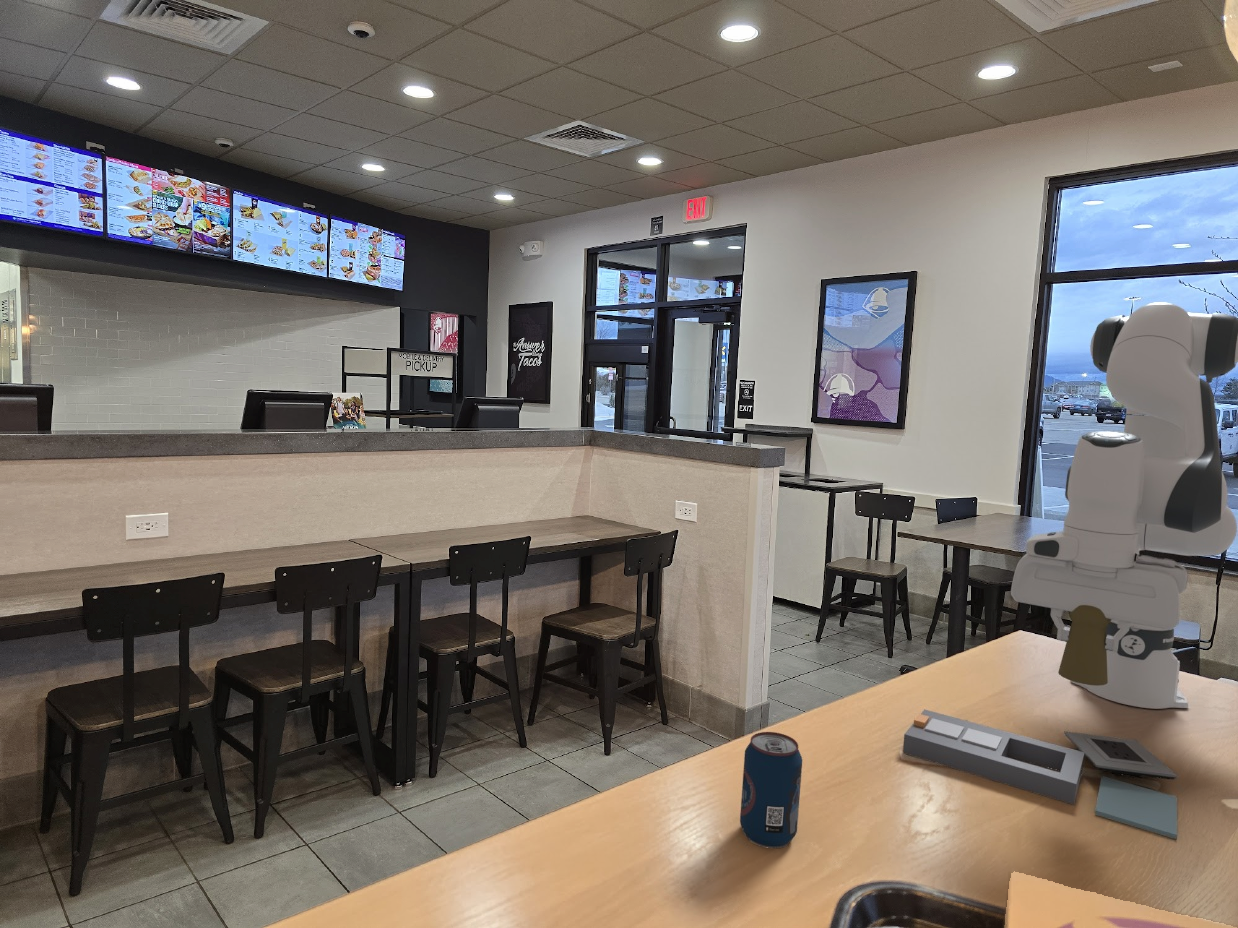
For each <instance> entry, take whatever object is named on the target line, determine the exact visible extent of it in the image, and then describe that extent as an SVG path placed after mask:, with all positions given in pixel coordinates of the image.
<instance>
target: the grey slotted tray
mask: <svg viewBox="0 0 1238 928" xmlns="http://www.w3.org/2000/svg"><path fill="white" fill-rule="evenodd" d="M902 744H903V745H902V753H903V754H906V755H908V756H912V757H916V758H919V759H921V760H924V761H925V760H926V761H928V762H932V763H934V764H939V765H942V766H945V767H948V768H952V769H955V770H958V771H962V772H965V773H969V774H970V775H971V774H972V775H974V776H978V777H980V778H981V777H982V778H984V779H988V780H991V781H995V782H997V783H1001V784H1004V785H1008V786H1011V787H1013V788H1018V789H1020V790H1024V791H1027V792H1030V793H1033V794H1034V793H1035V794H1038V795H1040V796H1044V797H1047V798H1051V799H1054V800H1057V801H1060V802H1064V803H1067V804H1070V805H1073V806H1074V805H1076V800H1077V795H1078V791H1079V787H1080V783H1081V778H1082V775H1081V774H1083V768H1084V760H1085V756H1084V753H1085V752H1081V751H1080V750H1077V749H1073V748H1070V747H1066V746H1063V745H1062V746H1061V745H1059V744H1055V743H1050V742H1047V741H1044V740H1041V739H1040V740H1039V739H1035V738H1031V737H1028V736H1025V735H1022V734H1021V735H1020V734H1018V733H1013V732H1010V731H1007V730H1003V729H999V728H996V727H992V726H989V725H988V726H987V725H983V724H979V723H976V722H972V721H968V720H967V719H966V720H965V719H961V718H958V717H955V716H952V715H951V716H950V715H947V714H943V713H939V712H936V711H931V710H928V709H923V711H922V712H921V713H917V715H916V717H915V718H914V720H913V722H912V724H911V725H910V726H909V728H908V729H907V730H906V731H905V733H904V736H903V743H902ZM1047 767H1049V768H1047ZM1050 768H1052V769H1050ZM1054 769H1057V770H1059V771H1057V770H1054Z"/></svg>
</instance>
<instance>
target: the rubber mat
mask: <svg viewBox="0 0 1238 928" xmlns="http://www.w3.org/2000/svg"><path fill="white" fill-rule="evenodd" d="M1177 802H1178V798H1177V796H1175V795H1171V794H1169V793H1164V792H1160V791H1159V790H1158V791H1157V790H1155V789H1150V788H1146V787H1143V786H1139V785H1135V784H1132V783H1129V782H1125V781H1123V780H1118V779H1114V778H1110V777H1107V776H1103V775H1101V778H1100V784H1099V790H1098V794H1097V800H1096V806H1095V811H1094V815H1095V816H1099V817H1102V818H1105V819H1109V820H1111V821H1115V822H1117V823H1122V824H1125V825H1128V826H1131V827H1135V828H1138V829H1140V830H1144V831H1148V832H1150V833H1153V834H1154V833H1155V834H1157V835H1161V836H1164V837H1167V838H1171V839H1174V840H1177V839H1178V803H1177Z"/></svg>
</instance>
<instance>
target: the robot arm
mask: <svg viewBox="0 0 1238 928" xmlns="http://www.w3.org/2000/svg"><path fill="white" fill-rule="evenodd" d="M1089 346H1090V350H1089V351H1090V356H1091V358H1092V362H1093V365H1094V366H1095V367H1096V369H1097V370H1099V371H1100V372H1101V373H1106V375H1105V381H1106V386H1107V389H1108V391H1109V393H1110V394H1111V396H1112V397H1113V398H1114V399H1115V400H1116V401H1117V402H1118V403H1119V404H1121V405H1122V406H1124V407H1125V408H1126V411H1125V412H1126V413H1125V420H1124V421H1125V422H1124V430H1123V431H1115V430H1100V431H1091V432H1087V433H1085V434H1082V435H1081V436H1080V437H1079V439H1078V442H1077V444H1076V446H1075V451H1074V454H1073V458H1072V462H1071V465H1070V466H1069V468H1068V469H1067V474H1066V480H1065V481H1066V482H1065V489H1064V490H1065V491H1064V493H1065V494H1064V497H1065V498H1066V500H1067V501H1068V511H1067V514H1066V516H1065V518H1064V521H1063V529H1062V530H1061V531H1052V532H1045V533H1039V534H1034V535H1032V536H1030V537H1028V539H1027V540H1026V543H1025V548H1024V550H1025V552H1026V554H1024V555H1023V556H1022V557H1021V558H1020V559H1019V561H1018V562H1017V565H1016V566H1015V567H1016V568H1015V570H1014V575H1013V577H1012V583H1011V588H1010V595H1011V597H1012V598H1013V600H1014V601H1015V602H1017V603H1020V604H1021V603H1023V604H1028V605H1032V606H1038V607H1044V608H1049V609H1050V617H1051V619H1052V621H1053V623H1054V625H1055V627H1056V628H1057V635H1056V640H1057V641H1059V642H1060V641H1062V642H1065V643H1066V642H1067V641H1068V639H1069V637H1068V636H1069V633H1070V628H1071V627H1068V626H1066V625H1065V624H1064V622H1063V620H1062V618H1061V617H1063V615H1064V611H1065V612H1069V611H1070V612H1072V611H1073V610H1074V609H1075V608H1077V607H1078V606H1080V605H1088V606H1093V607H1097V608H1099V609H1100V610H1101V611H1102V612H1103V613H1104V615H1105V617H1106V618H1108V619H1112V620H1111V622H1110V624H1109V625H1108V626H1107V627H1106V642H1105V643H1106V645H1105V650H1107V677H1108V683H1107V684H1105V685H1099V686H1096V685H1087V684H1081V683H1077V682H1074V681H1071V680H1069V682H1071V683H1073V684H1075V685H1077V686H1080V687H1082V688H1084V689H1086V690H1087V691H1089V692H1091V693H1092V694H1094V695H1096V696H1098V697H1101V698H1103V699H1105V700H1109V701H1111V702H1115V703H1118V704H1123V705H1128V706H1131V707H1135V708H1136V707H1138V708H1142V709H1143V708H1145V709H1157V710H1159V709H1162V710H1163V709H1169V708H1177V709H1178V708H1179V709H1188V708H1189V702H1188V699H1187V698H1186V697H1185V696H1184V694H1183V693H1182V691H1181V690H1180V689H1179V687H1178V686H1179V681H1180V679H1179V675H1180V667H1181V665H1180V664H1181V662H1180V660H1178V657H1176V656H1175V654H1174V653H1173V652H1172V648H1173V645H1174V640H1175V634H1174V633H1175V628H1177V627H1178V626H1179V624H1180V615H1181V603H1180V602H1181V600H1180V599H1181V598H1180V597H1181V596H1180V594H1182V593H1183V592H1185V590H1186V589H1187V586H1188V579H1189V574H1188V571H1187V569H1186V567H1185V566H1183V565H1182V564H1180V563H1178V562H1177V561H1176V560H1174V559H1171V558H1166V557H1165V558H1161V557H1160V558H1159V557H1155V556H1151V555H1145V554H1144V555H1143V554H1140V551H1145V550H1146V551H1152V552H1158V553H1164V554H1165V553H1166V554H1172V555H1173V554H1174V555H1180V556H1187V557H1192V556H1194V557H1197V556H1198V557H1199V556H1200V557H1204V556H1207V557H1208V556H1209V557H1210V556H1218V555H1220V554H1221V555H1222V553H1224V552H1225V551H1227V550H1228V549H1229V548H1230V546H1231V545H1232V544H1233V543H1234V541H1235V538H1236V537H1237V533H1238V523H1237V519H1236V517H1235V515H1234V513H1233V511H1232V509H1231V508H1230V507H1229V506H1228V505H1227V503H1228V485H1227V482H1226V477H1225V475H1224V472H1223V470H1222V465H1221V464H1222V461H1221V456H1220V454H1221V453H1220V452H1221V451H1220V441H1219V430H1218V429H1219V427H1218V419H1217V411H1216V405H1215V398H1214V393H1213V390H1212V387H1211V385H1210V383H1212V382H1213V379H1215V378H1218V377H1222V376H1225V375H1226V374H1228V373H1229V372H1231V371H1232V370H1234V369H1235V368H1236V365H1237V364H1238V318H1237V316H1234V315H1231V314H1228V313H1222V312H1221V313H1220V312H1213V313H1212V314H1211V313H1200V312H1188V311H1187V310H1186V309H1184V308H1183V307H1181V306H1179V305H1177V304H1174V303H1170V302H1164V301H1163V302H1162V301H1161V302H1152V303H1151V302H1150V303H1148V304H1145V305H1142V306H1141V307H1139V308H1137V309H1136V310H1135V311H1133V312H1132V313H1131V314H1130V315H1129V316H1126V315H1124V314H1122V315H1116V316H1111V317H1108V318H1105V319H1104V320H1102V321H1101V322H1100V323H1099V324H1098V325H1097V326H1096V328H1095V331H1094V333H1093V334H1092V337H1091V339H1090V345H1089ZM1199 376H1205V379H1206V380H1204V379H1202V378H1200V377H1199ZM1177 567H1178V568H1177Z"/></svg>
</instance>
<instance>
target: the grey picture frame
mask: <svg viewBox="0 0 1238 928" xmlns="http://www.w3.org/2000/svg"><path fill="white" fill-rule="evenodd" d="M1063 734H1064V736H1065V737H1067V739H1069V741H1070V742H1071V743H1072V744H1073V745H1074V746H1075V747H1076V748H1077V749H1078V751H1081V752H1085V753H1084V758H1086V759H1087V760H1088V761H1089V762H1090V764H1092V766H1094V768H1095V769H1096V770H1098V771H1101V772H1108V773H1110V774H1111V775H1115V776H1125V777H1131V778H1138V779H1142V777H1146V778H1155V779H1162V780H1174V779H1178V774H1177V773H1175V772H1174V771H1173V770H1172V769H1171V768H1169V767H1168V766H1167V765H1166V764H1165V763H1163V761H1162V760H1160V759H1159V758H1158V757H1156V756H1155V754H1153V753H1152V752H1151V751H1150V750H1149V749H1148V748H1146V747H1145V746H1144V745H1142V744H1141V742H1140V741H1138V740H1137V739H1130V738H1123V737H1115V736H1106V735H1100V734H1099V735H1097V734H1091V733H1083V732H1074V731H1065V730H1064V731H1063Z"/></svg>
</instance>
